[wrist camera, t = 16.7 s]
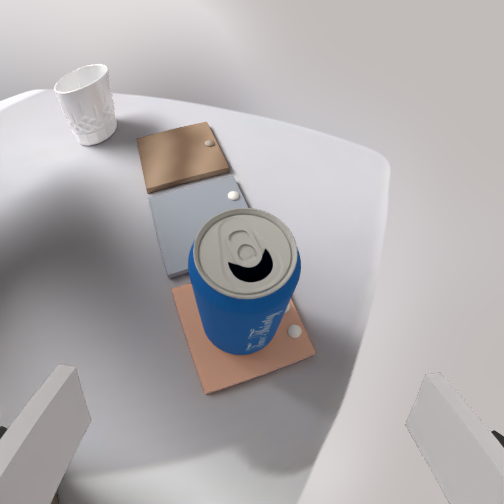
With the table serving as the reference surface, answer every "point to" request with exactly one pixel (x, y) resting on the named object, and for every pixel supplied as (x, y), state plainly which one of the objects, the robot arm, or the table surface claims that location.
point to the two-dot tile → (190, 217)
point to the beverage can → (243, 277)
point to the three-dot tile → (239, 366)
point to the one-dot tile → (180, 156)
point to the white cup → (88, 103)
